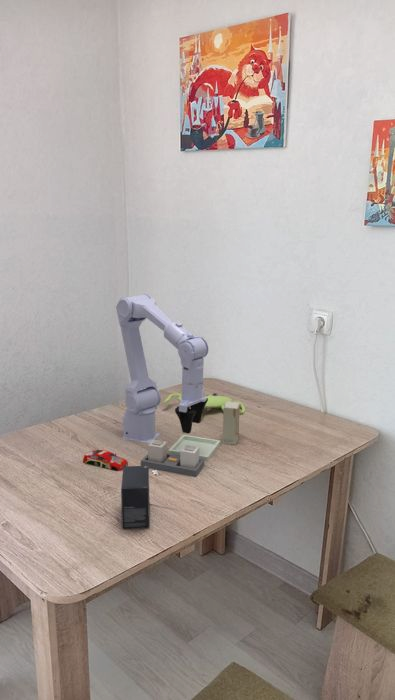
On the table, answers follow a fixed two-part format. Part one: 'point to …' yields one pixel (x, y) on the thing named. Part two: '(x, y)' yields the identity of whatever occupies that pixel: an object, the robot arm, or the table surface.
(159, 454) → the twin plug
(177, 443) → the tray
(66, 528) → the table surface
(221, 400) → the figurine
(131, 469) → the small box
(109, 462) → the race car
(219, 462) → the table surface
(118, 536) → the table surface
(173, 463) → the strip
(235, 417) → the skincare box
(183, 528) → the table surface
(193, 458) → the plug
